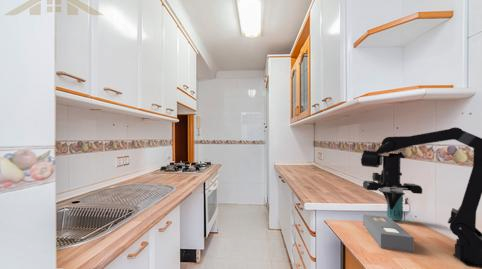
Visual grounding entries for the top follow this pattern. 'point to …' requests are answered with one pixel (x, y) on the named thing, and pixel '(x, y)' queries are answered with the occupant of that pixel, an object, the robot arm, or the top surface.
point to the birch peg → (379, 219)
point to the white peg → (390, 230)
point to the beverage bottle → (396, 210)
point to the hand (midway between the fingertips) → (390, 209)
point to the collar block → (388, 234)
